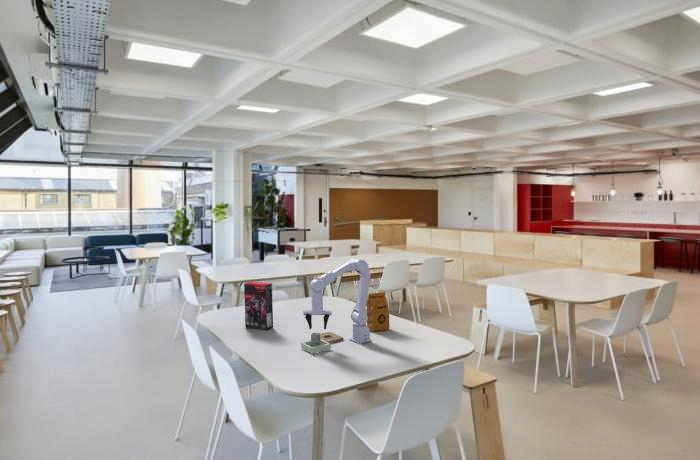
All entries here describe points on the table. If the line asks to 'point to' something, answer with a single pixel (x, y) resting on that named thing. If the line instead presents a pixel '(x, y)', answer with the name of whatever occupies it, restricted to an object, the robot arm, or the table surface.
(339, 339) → the tan flat square frame
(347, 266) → the robot arm
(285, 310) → the table surface
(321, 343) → the tray
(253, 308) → the graphics card box
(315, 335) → the pin
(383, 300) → the coffee package
